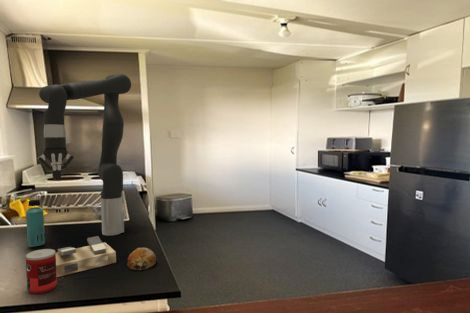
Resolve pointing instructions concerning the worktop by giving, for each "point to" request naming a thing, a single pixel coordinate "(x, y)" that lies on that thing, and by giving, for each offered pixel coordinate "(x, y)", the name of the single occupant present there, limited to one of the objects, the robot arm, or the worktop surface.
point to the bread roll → (141, 259)
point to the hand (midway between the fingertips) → (56, 179)
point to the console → (83, 260)
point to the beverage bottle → (35, 224)
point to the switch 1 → (66, 251)
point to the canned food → (41, 271)
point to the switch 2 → (96, 245)
